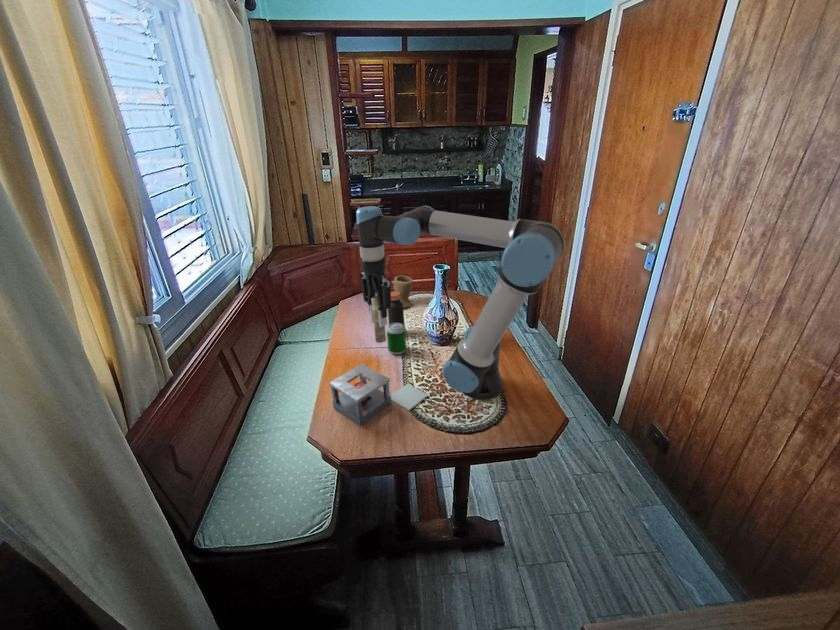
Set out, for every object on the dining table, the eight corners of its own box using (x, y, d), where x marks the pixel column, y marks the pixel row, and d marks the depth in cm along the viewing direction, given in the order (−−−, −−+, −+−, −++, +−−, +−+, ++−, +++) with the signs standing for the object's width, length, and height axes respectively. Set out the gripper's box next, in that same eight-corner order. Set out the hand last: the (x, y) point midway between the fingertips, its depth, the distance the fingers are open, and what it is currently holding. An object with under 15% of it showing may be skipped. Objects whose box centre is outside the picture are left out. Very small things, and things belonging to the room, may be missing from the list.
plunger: (370, 397, 130) (368, 385, 128) (360, 403, 127) (359, 391, 125) (362, 392, 132) (360, 380, 130) (353, 398, 130) (351, 386, 127)
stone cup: (417, 306, 198) (416, 279, 191) (395, 311, 194) (393, 284, 187) (406, 296, 210) (404, 270, 204) (385, 300, 206) (383, 274, 200)
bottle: (408, 333, 174) (405, 293, 165) (396, 339, 170) (393, 298, 160) (398, 328, 178) (395, 289, 169) (386, 334, 174) (383, 293, 165)
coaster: (428, 396, 135) (428, 394, 134) (408, 411, 128) (408, 409, 128) (407, 384, 141) (407, 383, 140) (387, 398, 134) (387, 397, 134)
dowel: (387, 339, 135) (384, 297, 127) (380, 343, 132) (376, 301, 125) (381, 336, 137) (377, 295, 129) (373, 340, 135) (369, 298, 127)
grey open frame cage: (391, 403, 132) (389, 378, 127) (360, 426, 123) (356, 400, 118) (364, 387, 140) (361, 363, 135) (333, 407, 131) (329, 382, 126)
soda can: (404, 356, 157) (402, 331, 152) (386, 355, 159) (384, 329, 153) (408, 347, 164) (406, 322, 158) (391, 345, 165) (389, 320, 160)
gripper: (400, 259, 118) (404, 326, 129) (364, 249, 128) (371, 312, 139) (381, 266, 113) (387, 335, 124) (346, 255, 123) (355, 320, 134)
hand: (379, 323), depth 132 cm, fingers closed on dowel, 3 cm apart
